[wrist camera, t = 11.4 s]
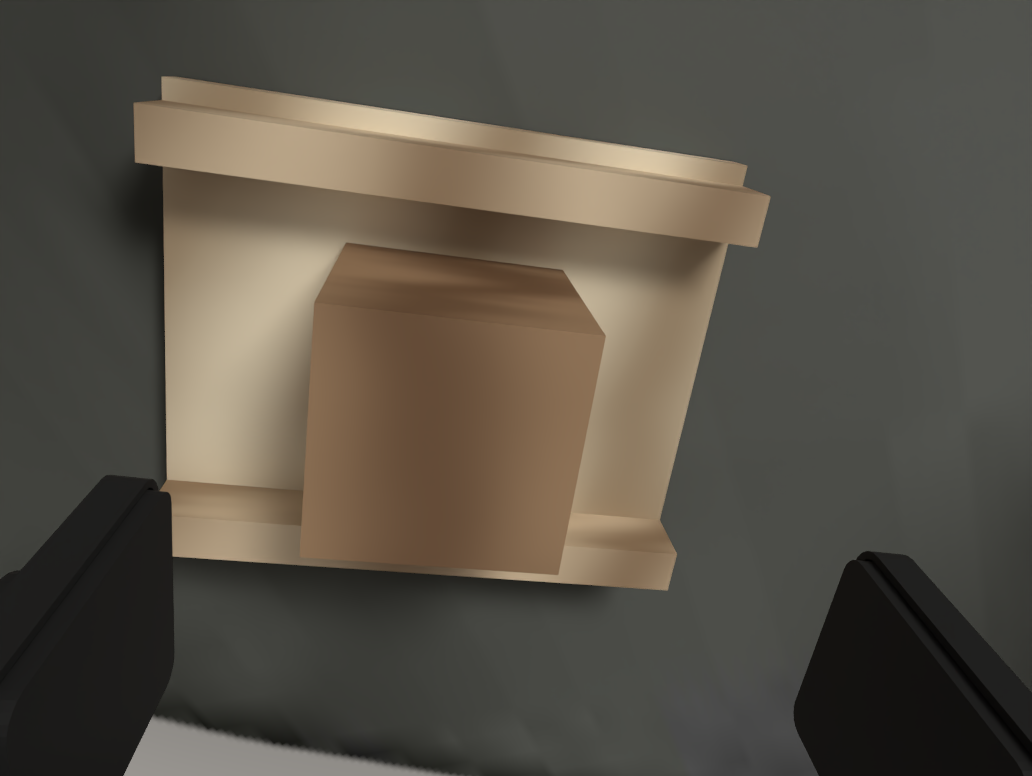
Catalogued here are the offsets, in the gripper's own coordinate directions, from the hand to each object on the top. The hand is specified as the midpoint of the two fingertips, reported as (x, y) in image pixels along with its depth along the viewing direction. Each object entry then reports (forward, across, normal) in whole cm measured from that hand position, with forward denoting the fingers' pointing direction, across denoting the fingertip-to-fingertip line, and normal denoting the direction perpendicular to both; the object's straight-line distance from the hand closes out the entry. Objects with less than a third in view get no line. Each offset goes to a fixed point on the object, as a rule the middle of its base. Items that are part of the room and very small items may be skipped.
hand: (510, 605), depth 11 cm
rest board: (+12, +1, +1) cm, 12 cm away
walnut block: (+11, +1, 0) cm, 11 cm away
